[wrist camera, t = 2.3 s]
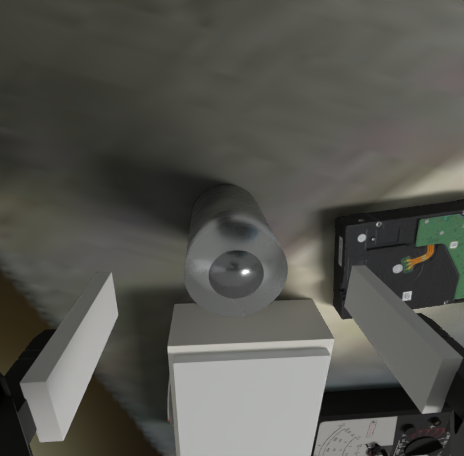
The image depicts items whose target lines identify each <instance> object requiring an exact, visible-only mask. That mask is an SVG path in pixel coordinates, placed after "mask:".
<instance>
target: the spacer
mask: <svg viewBox="0 0 464 456" xmlns="http://www.w3.org/2000/svg"><path fill="white" fill-rule="evenodd" d="M287 269H288V267H287V261H286V257H285V255H284V252H283V250H282V248H281V247H280V245H279V243H278V241H277V239H276V237H275V235H274V234H273V232H272V230H271V228H270V226H269V224H268V223H267V221H266V219H265V217H264V215H263V213H262V211H261V210H260V208H259V206H258V204H257V202H256V201H255V199H254V198H253V196H252V195H251V194H250V193H249V192H247V191H246V190H245V189H243V188H241V187H238V186H235V185H218V186H215V187H212V188H210V189H208V190H207V191H205V192H204V193H203V194H202V195H201V196H200V197H199V198H198V200H197V201H196V203H195V205H194V208H193V211H192V218H191V225H190V232H189V239H188V246H187V253H186V260H185V267H184V281H185V285H186V288H187V291H188V293H189V294H190V296H191V298H192V299H193V300H194V301H195V302H196V303H197V304H198V305H199V306H200V307H202V308H203V309H205V310H207V311H209V312H211V313H213V314H216V315H220V316H226V317H240V316H246V315H250V314H253V313H255V312H258V311H260V310H262V309H263V308H265V307H267V306H268V305H269V304H271V303H272V302H273V301H274V300H275V299H276V298H277V296H278V295H279V294H280V292H281V291H282V289H283V287H284V285H285V282H286V278H287Z"/></svg>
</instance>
